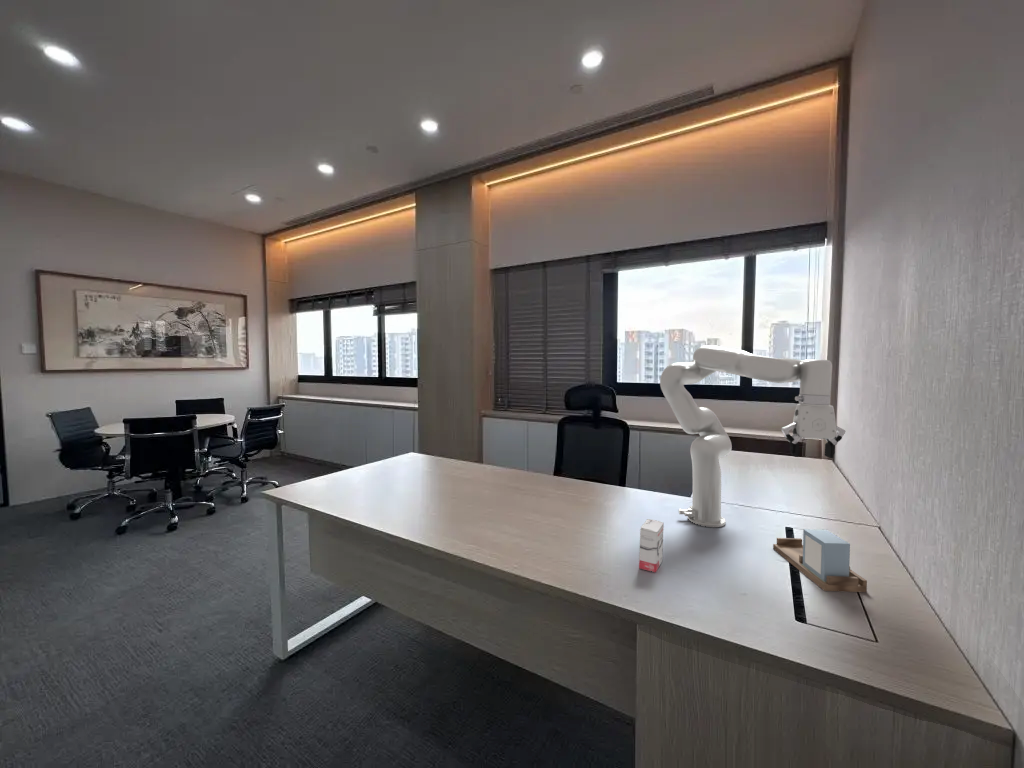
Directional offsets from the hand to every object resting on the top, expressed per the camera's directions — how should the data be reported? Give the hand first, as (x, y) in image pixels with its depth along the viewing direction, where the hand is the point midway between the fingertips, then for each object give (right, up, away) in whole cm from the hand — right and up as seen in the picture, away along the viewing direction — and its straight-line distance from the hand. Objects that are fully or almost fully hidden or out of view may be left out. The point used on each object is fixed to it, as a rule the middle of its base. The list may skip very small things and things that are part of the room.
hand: (811, 456), depth 126 cm
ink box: (-51, -30, -7) cm, 60 cm away
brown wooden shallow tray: (-6, -30, -10) cm, 32 cm away
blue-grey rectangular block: (-7, -28, -15) cm, 33 cm away
